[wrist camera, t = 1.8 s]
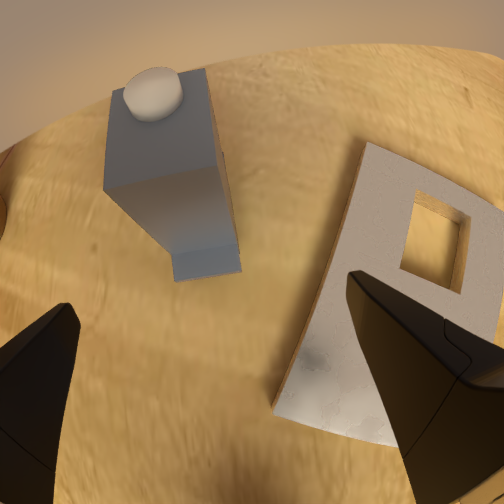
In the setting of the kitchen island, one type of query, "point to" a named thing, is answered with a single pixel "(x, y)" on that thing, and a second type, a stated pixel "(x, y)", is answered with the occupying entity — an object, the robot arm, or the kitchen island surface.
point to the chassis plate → (387, 270)
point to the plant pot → (2, 216)
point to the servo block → (173, 170)
